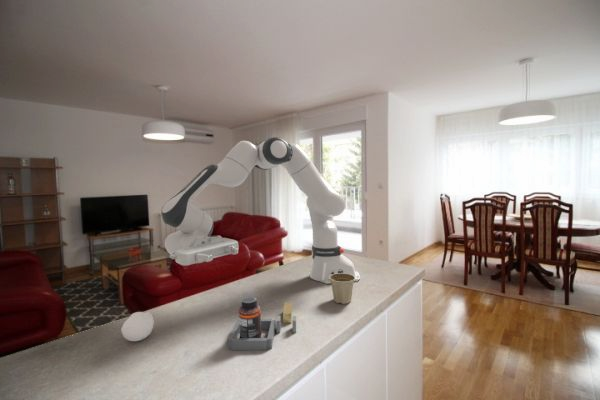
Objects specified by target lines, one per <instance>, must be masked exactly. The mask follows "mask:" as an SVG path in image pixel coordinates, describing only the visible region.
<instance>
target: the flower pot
mask: <svg viewBox="0 0 600 400" xmlns="http://www.w3.org/2000/svg"><path fill="white" fill-rule="evenodd" d="M329 279H330V282H331V283H330V284H331V290H332V295H333V301H334V302H335V303H337V304H343V305H345V304H349V303H351V302H352V295H353V287H354V284H355V281H354V280H355V276H353V275H351V274H346V273H336V274H332V275H330V276H329Z"/></svg>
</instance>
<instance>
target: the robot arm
mask: <svg viewBox="0 0 600 400" xmlns="http://www.w3.org/2000/svg"><path fill="white" fill-rule="evenodd" d="M279 165H280V166H283V168H284V169H285V170H286V172H287V173H288V174H289V176H290V177H291V179H292V180H293V182H294V183H295V184H296V186H297V188H298V189H299V190H300V192H302V193H303V194H304V195H306V197H307V198H306V206H307V208H308V212H309V217H310V222H311V228H312V245H311V257H312V264H311V271H310V274H309V278H310V279H312V280H314V281H317V282H321V283H323V284H325V285H326V284H327V285H328V284H331V282H330V279H329V276H330V275H332V274H336V273H346V274H351V275H353V276H355V280H354V282H359V281H360V280H361V275H360V273H359V272H358V271H357V270H356V269H355V265H354V263H353V262H352V260H351V259H349V258H348V256H345V255H344V253H345V250H344V248H343V247H341V246H340V245H338V226H337V225H336V224H335V221H334V217H337V216H340V215H341V214H342V213H343V212H344V210H345V208H346V200H345V198H344V197H343V195H341V194H340V193H339V192H337V191H336V189H335V188H334V187H332V186H331V184H330V183H329V182H328V181H327V180H326V179H325V178H324V177H323V175H322V174H321V173H320V171H319V170H318V168H317V167H316V166H315V165H314V163H313V162H312V160H311V158H310V157H309V156H308V154H307V153H306V152H305V151H304V149H302V148H301V146H300V145H299V144H297V143H288V142H287V141H286V140H284V139H283V138H282V137H277V136H274V137H270V138H268V139H266V140H264V141H262V142H261V143H260V144H259V145H255V144H253V143H252V142H251V141H248V140H241V141H239V142H237V143H236V144H235V145H234V146H233V147H232V148H231V149H230V151H228V153H226V155H225V156H224V157H223V159H222V160H221V161H220V162H219V163H218V164H209V165H207V166H206V167H205V168H203V169H202V170H201V171H200V172H199V173H198V174H197V175H195V177H193V178H192V180H190V181H189V182H188V183H187V184H186V185H185V186H184V187H183V188H182V189H181V190H180V191H179V192H178V193H177V194H175V195H174V196H172V198H171V197H170V199H169V200H167V201H166V203H164V205H163V206H162V208H161V218H162V221H163V223H164V224H166V225H168V226H170V227H173V228H175V229H177V231H175V232H172V233H170V234H169V235H167V236H166V237H165V240H164V248H165V250H166V252H167V253H168V254H169V258H170V259H171V260H175V262H176V263H177V264H178V265H180V266H185V267H186V266H190V265H194V264H202V263H204V262H206V263H210V262H212V261H213V259H216V258H220V257H223V256H228V255H237V254H239V249H240V248H239V247H240V246H239V242H238V240H235V239H231V238H227V237H222V236H221V235H212V233H213V230H214V219H213V217H212V216H210V215H209V214H208V213H206V212H205V211H203V210H202V209H200V208H199V207H197V206H195V205H194V204H192V202H193V200H194V199H195V198H196V197H197V196H198V195H199V194H200V193H201V192H202V191H203V190H204V189H206V187H207V186H209V185H213V184H216V185H219V186H223V187H226V188H227V187H228V188H235V187H238V186H241V185H242V184H243V183H244V182H245V180H246V179H247V178H248V176H249V175H250V173H251V171H252V170H253V168H257V169H259V170H264V171H267V170H270V169H273V168H276V167H278V166H279ZM359 279H360V280H359ZM358 280H359V281H358Z"/></svg>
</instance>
